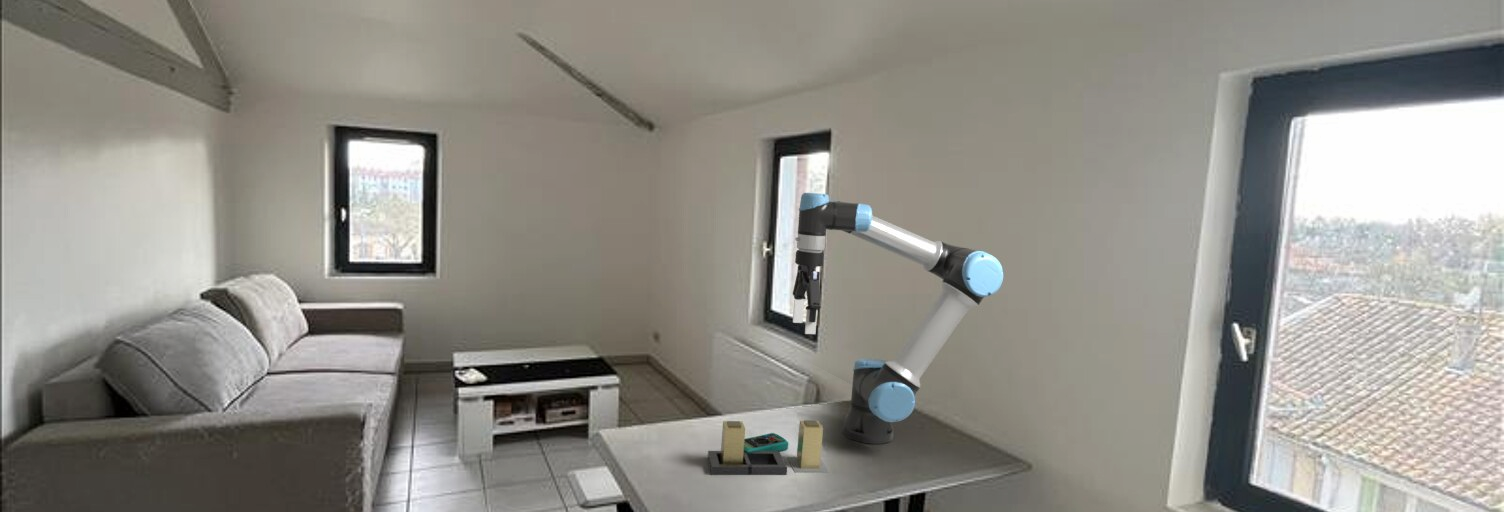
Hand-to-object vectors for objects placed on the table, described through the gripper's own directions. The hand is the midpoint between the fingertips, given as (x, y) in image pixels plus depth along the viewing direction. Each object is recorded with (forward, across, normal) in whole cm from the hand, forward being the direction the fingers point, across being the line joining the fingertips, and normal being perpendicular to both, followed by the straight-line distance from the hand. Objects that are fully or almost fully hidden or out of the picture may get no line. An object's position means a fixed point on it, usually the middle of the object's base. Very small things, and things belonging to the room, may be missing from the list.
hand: (803, 328), depth 184 cm
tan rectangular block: (+34, +11, +1) cm, 36 cm away
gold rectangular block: (+34, +12, -19) cm, 41 cm away
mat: (+35, +11, +1) cm, 36 cm away
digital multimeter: (+34, +1, -10) cm, 36 cm away
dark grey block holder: (+35, +12, -15) cm, 40 cm away
